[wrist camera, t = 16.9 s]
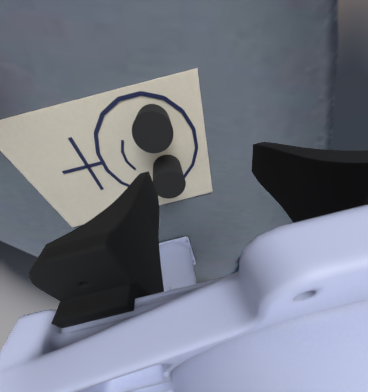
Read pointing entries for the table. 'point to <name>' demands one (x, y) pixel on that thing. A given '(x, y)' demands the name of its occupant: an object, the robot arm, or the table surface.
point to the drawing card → (106, 145)
